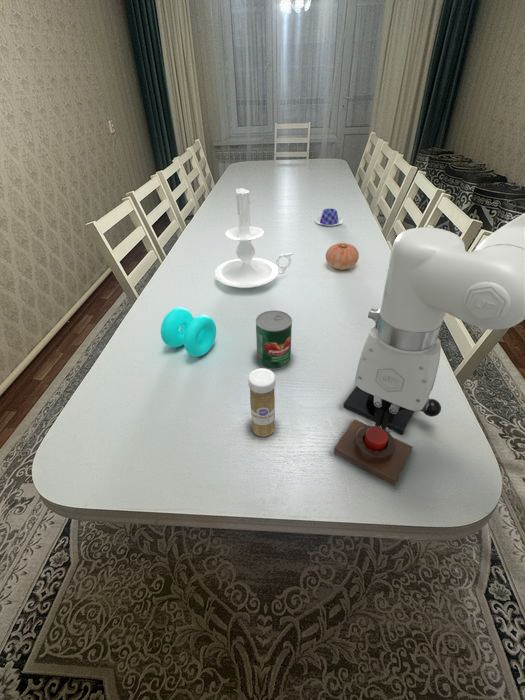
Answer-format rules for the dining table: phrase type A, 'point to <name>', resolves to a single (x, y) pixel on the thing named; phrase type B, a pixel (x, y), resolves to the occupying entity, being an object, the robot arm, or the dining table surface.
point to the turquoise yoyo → (188, 331)
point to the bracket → (365, 407)
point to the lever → (433, 408)
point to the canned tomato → (273, 339)
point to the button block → (373, 453)
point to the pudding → (329, 218)
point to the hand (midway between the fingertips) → (383, 421)
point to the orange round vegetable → (342, 256)
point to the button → (375, 438)
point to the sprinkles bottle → (262, 401)
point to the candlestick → (247, 253)
